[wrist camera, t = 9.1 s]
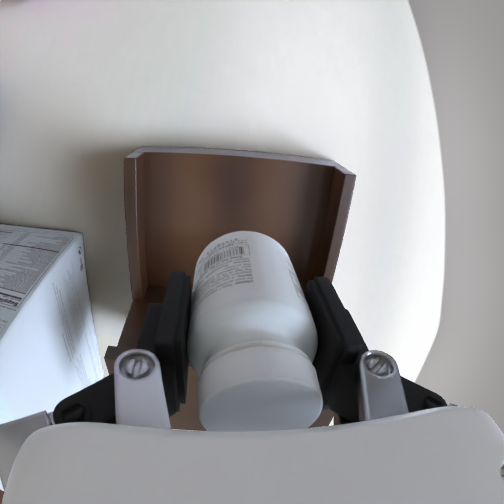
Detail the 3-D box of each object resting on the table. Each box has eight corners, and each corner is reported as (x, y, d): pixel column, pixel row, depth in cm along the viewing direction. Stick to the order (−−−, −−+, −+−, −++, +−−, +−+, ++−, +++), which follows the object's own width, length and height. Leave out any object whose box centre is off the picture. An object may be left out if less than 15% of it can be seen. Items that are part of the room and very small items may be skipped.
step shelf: (335, 161, 22) (414, 213, 13) (300, 331, 30) (328, 426, 20) (139, 146, 21) (73, 189, 11) (148, 325, 28) (125, 424, 18)
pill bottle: (183, 295, 15) (165, 439, 8) (214, 213, 13) (209, 347, 6) (266, 319, 16) (293, 456, 9) (307, 247, 14) (372, 379, 7)
